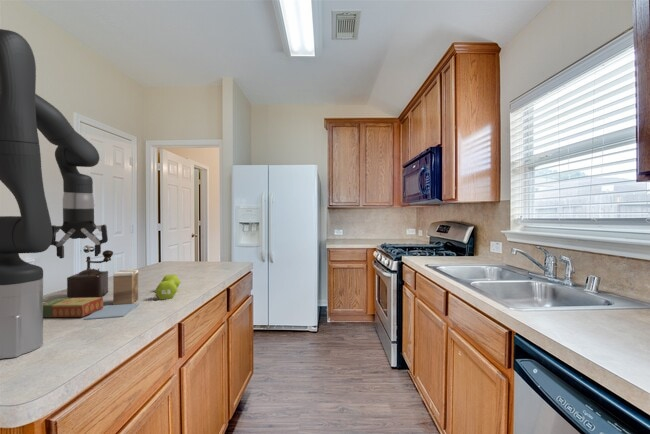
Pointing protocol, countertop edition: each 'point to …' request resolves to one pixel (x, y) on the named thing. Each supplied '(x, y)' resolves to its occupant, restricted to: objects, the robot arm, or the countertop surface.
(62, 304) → the carton
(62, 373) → the countertop surface
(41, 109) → the robot arm
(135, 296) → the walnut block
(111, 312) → the mat
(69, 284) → the manual coffee grinder
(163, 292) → the dumbbell
